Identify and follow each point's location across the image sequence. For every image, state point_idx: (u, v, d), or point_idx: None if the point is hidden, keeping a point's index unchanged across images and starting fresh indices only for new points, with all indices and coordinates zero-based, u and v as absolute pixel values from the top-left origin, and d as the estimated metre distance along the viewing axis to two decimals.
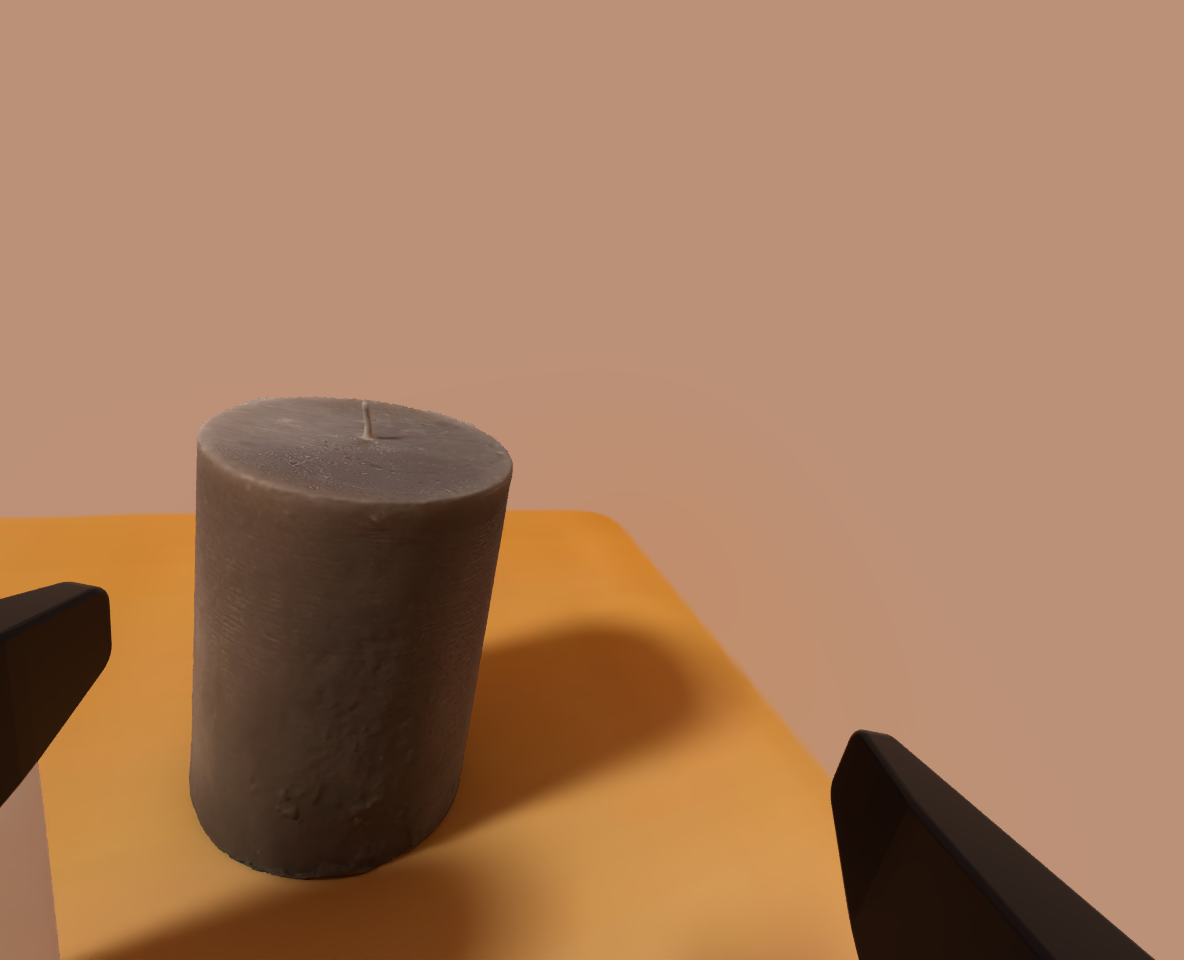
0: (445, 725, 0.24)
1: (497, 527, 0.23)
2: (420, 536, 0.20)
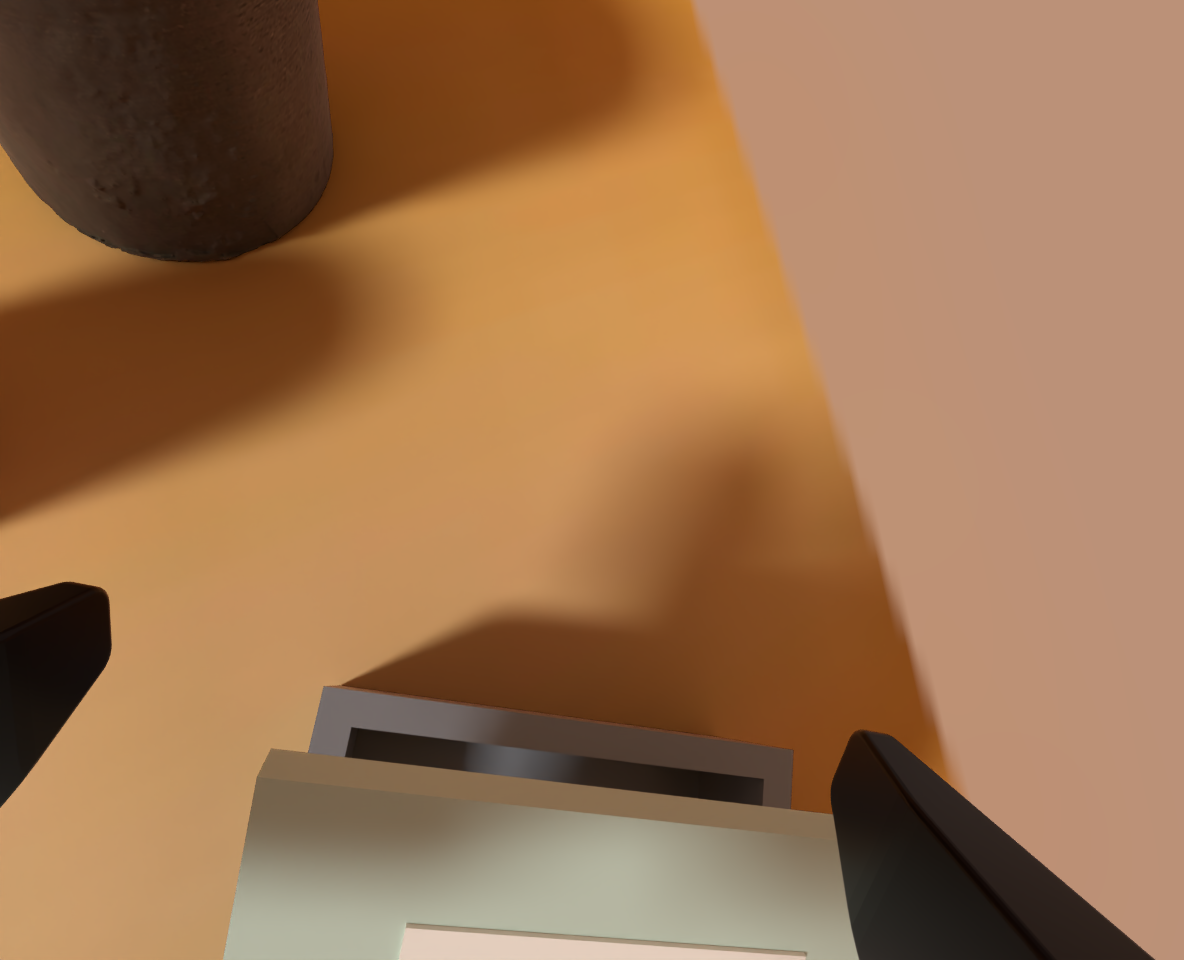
0: (273, 118, 0.20)
1: None
2: None
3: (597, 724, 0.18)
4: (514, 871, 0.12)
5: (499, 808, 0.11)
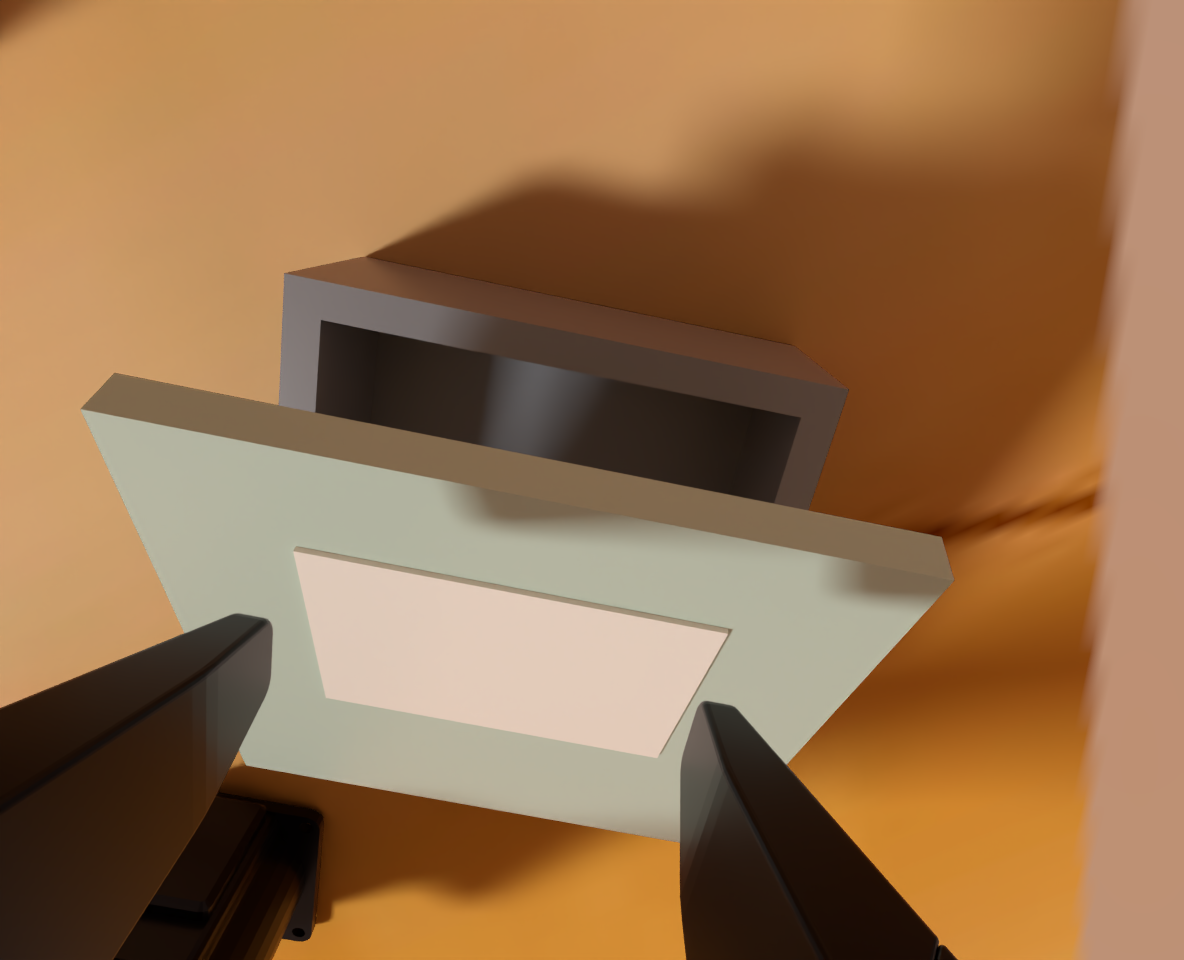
0: None
1: None
2: None
3: (598, 339, 0.15)
4: (388, 522, 0.11)
5: (351, 466, 0.10)
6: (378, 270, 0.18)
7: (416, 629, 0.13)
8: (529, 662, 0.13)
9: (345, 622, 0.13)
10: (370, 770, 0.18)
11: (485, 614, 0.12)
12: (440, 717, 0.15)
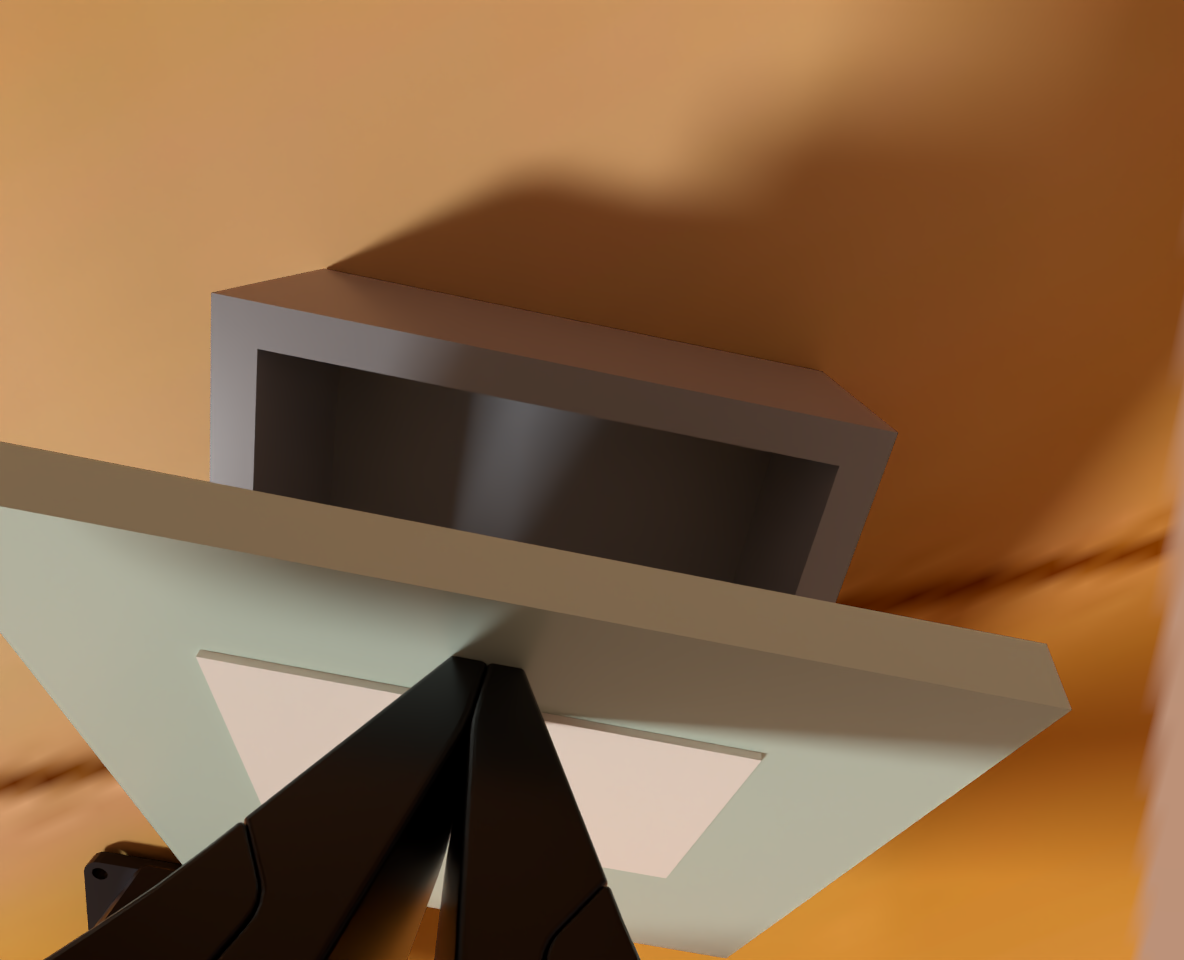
0: None
1: None
2: None
3: (595, 372, 0.12)
4: (315, 625, 0.08)
5: (257, 560, 0.07)
6: (336, 286, 0.15)
7: None
8: None
9: (274, 733, 0.10)
10: None
11: None
12: None
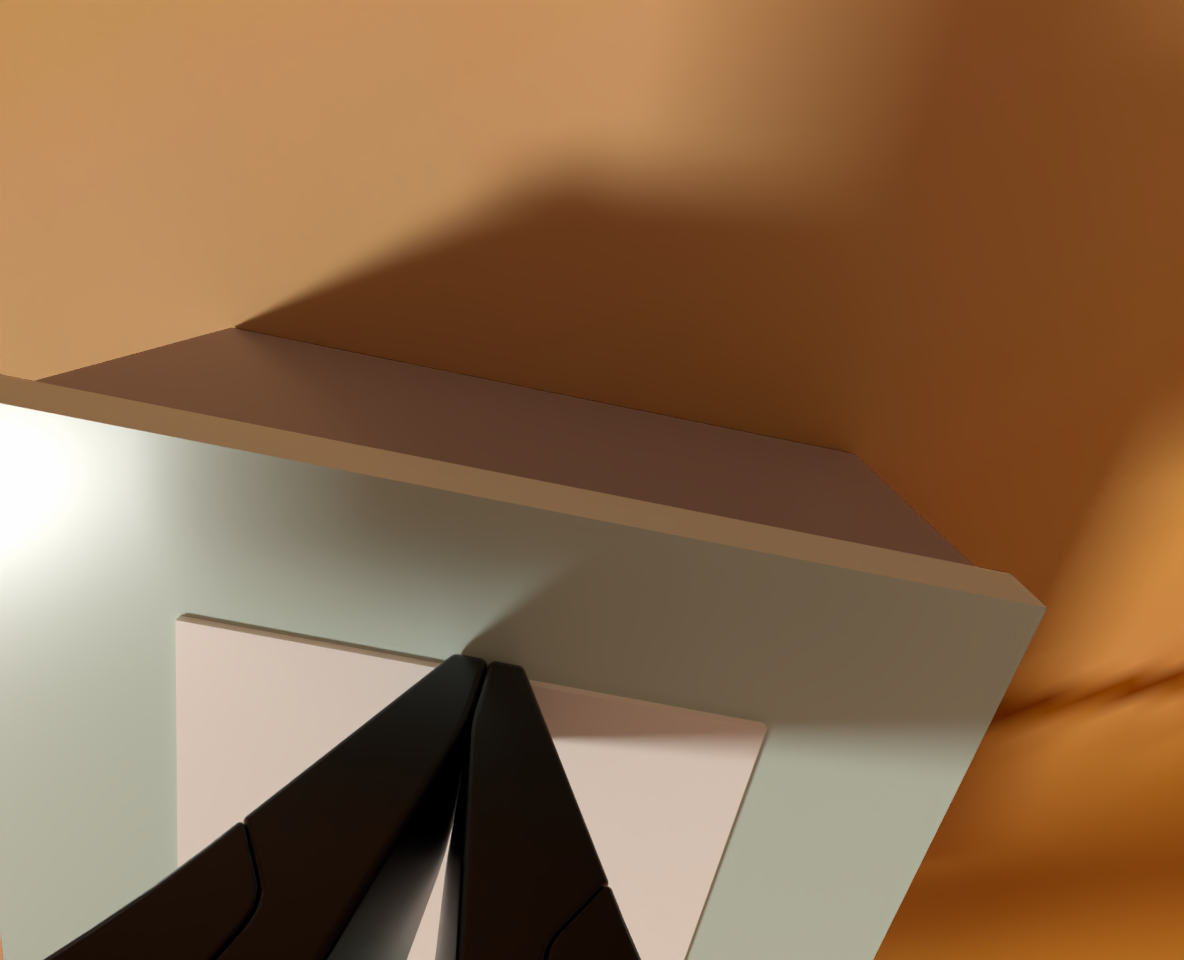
0: None
1: None
2: None
3: None
4: (316, 560, 0.08)
5: (279, 464, 0.08)
6: (232, 356, 0.12)
7: None
8: None
9: (231, 756, 0.09)
10: None
11: None
12: None
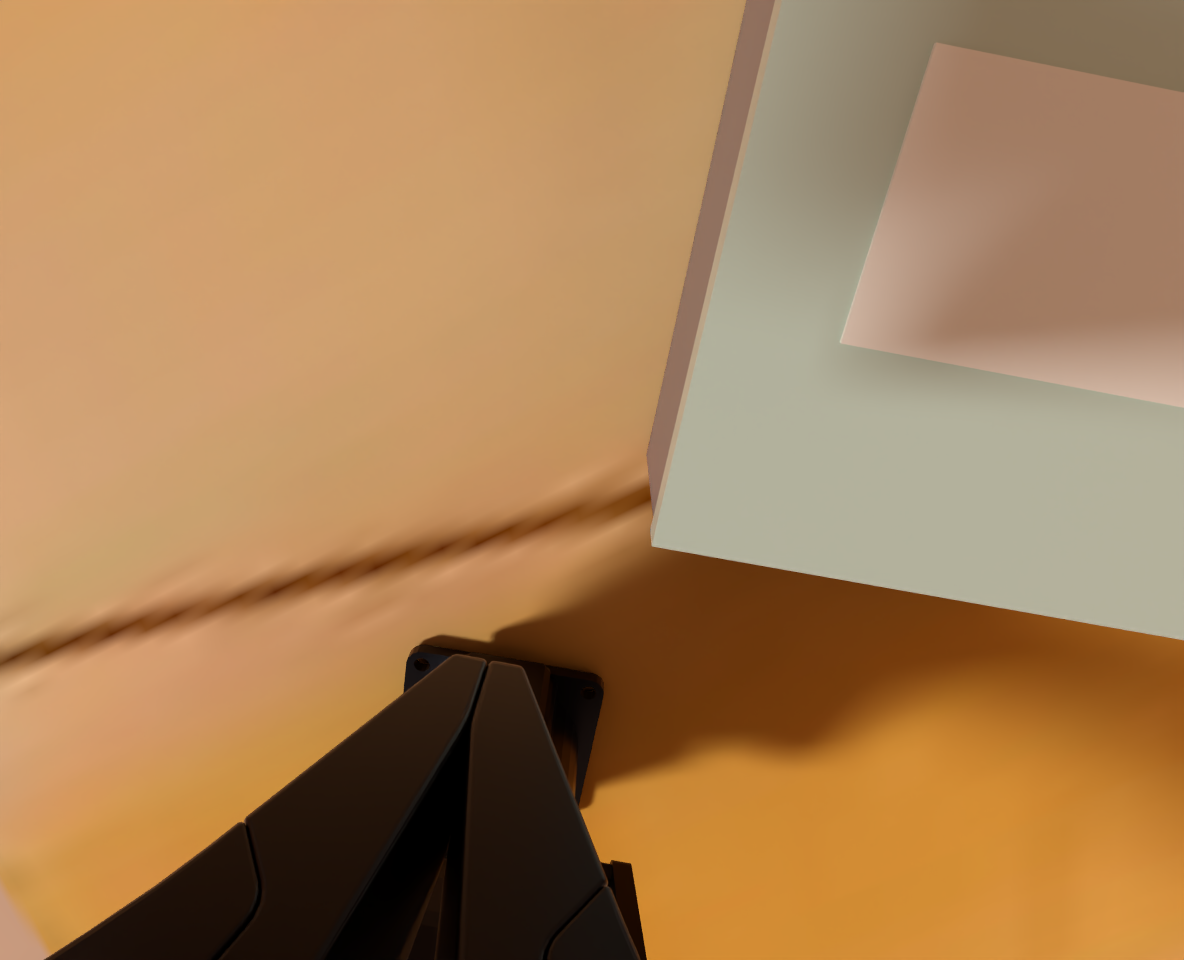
0: None
1: None
2: None
3: None
4: None
5: None
6: None
7: (1010, 173, 0.12)
8: (1112, 221, 0.13)
9: (934, 173, 0.12)
10: (815, 524, 0.15)
11: (1099, 129, 0.12)
12: (964, 363, 0.14)
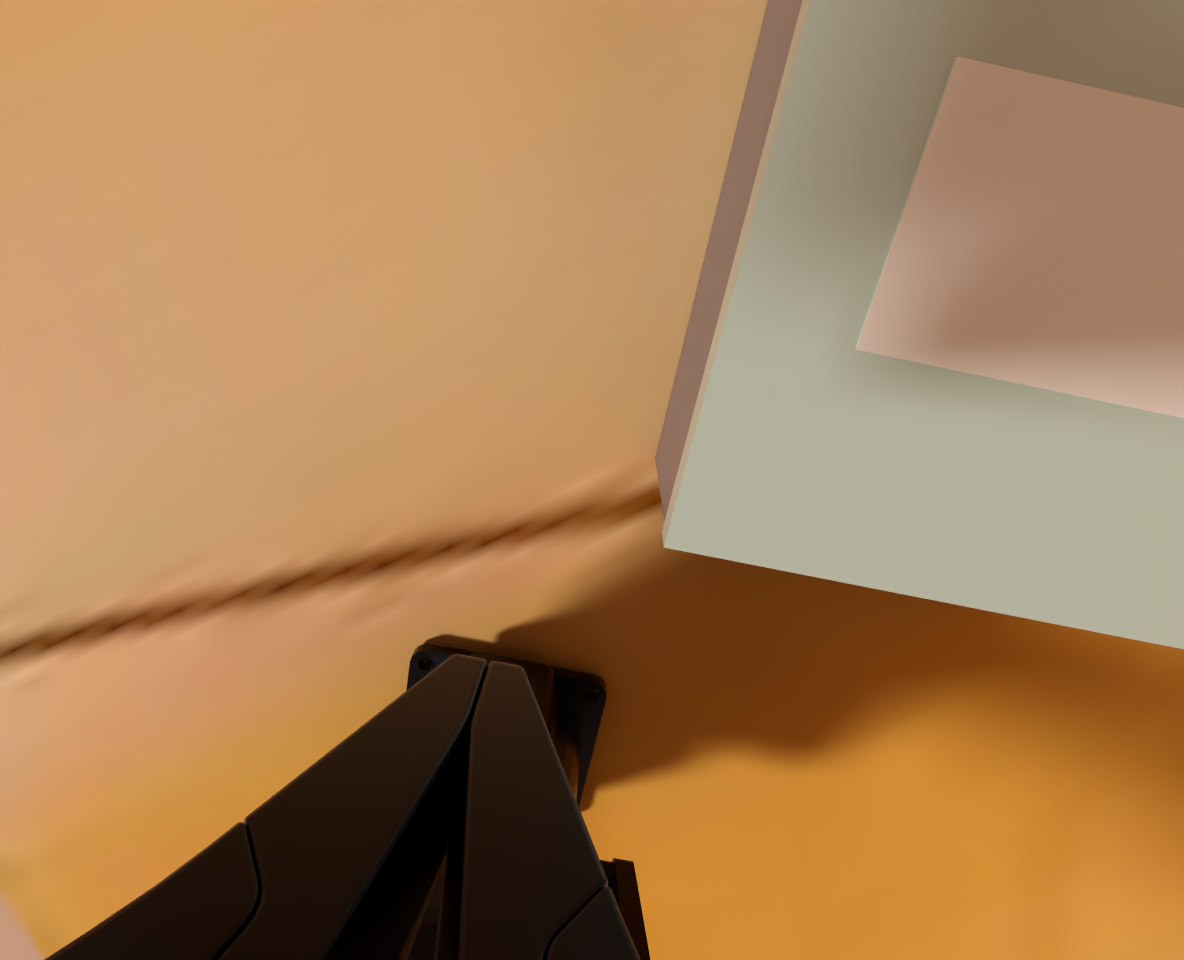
0: None
1: None
2: None
3: None
4: (1070, 4, 0.12)
5: None
6: None
7: (1026, 186, 0.13)
8: (1126, 235, 0.13)
9: (953, 184, 0.13)
10: (826, 528, 0.15)
11: (1114, 145, 0.12)
12: (977, 371, 0.14)
